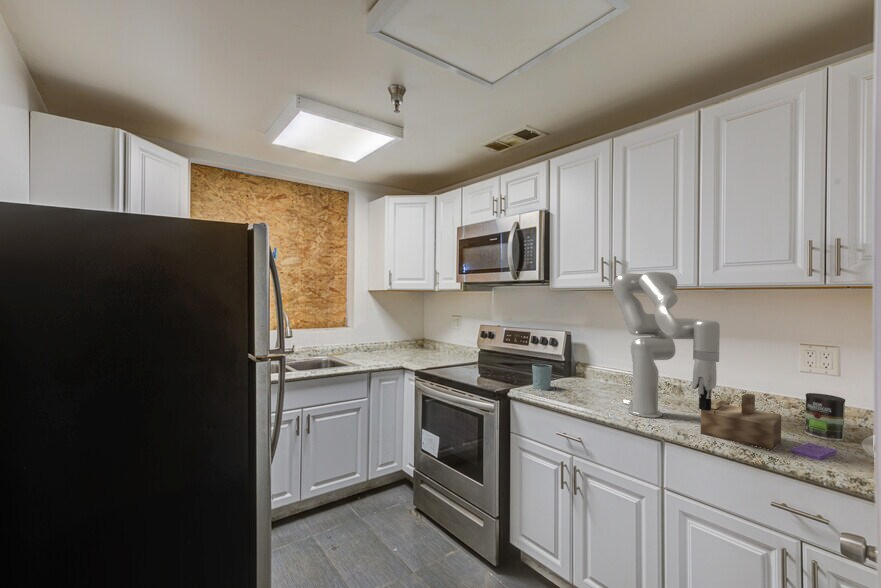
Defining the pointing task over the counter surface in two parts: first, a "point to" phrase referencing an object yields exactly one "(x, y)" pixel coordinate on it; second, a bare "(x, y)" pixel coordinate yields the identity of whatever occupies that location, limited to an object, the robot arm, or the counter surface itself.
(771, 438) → the toolbox
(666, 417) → the counter surface
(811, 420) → the coffee can
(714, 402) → the light brown wooden block
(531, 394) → the counter surface
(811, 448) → the sponges
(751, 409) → the lid
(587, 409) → the counter surface
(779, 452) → the counter surface
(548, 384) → the drinking glass
